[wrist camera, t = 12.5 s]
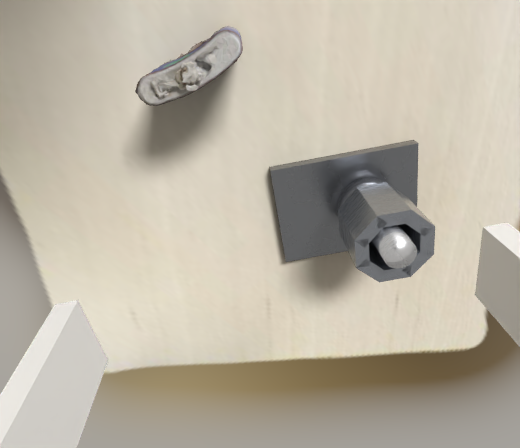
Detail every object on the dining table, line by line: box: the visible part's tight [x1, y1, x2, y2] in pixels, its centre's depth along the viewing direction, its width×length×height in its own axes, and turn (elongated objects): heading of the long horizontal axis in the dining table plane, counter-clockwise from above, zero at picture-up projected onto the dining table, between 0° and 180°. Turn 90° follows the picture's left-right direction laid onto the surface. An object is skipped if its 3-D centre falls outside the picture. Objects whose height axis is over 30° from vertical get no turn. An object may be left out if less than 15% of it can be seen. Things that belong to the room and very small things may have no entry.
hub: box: [338, 182, 435, 282], centre depth 39 cm, size 7×7×6 cm
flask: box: [136, 26, 243, 106], centre depth 33 cm, size 9×3×11 cm, turn 118°
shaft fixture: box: [270, 140, 418, 269], centre depth 41 cm, size 12×16×12 cm
